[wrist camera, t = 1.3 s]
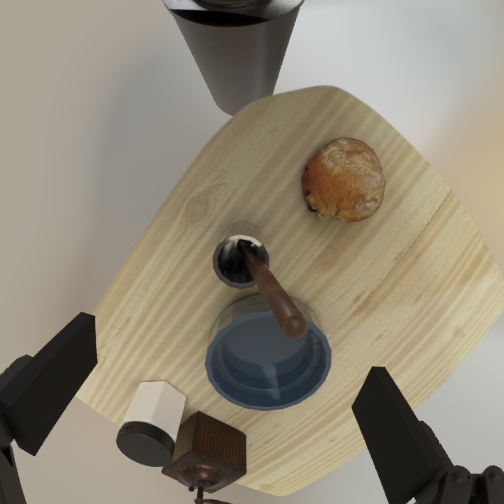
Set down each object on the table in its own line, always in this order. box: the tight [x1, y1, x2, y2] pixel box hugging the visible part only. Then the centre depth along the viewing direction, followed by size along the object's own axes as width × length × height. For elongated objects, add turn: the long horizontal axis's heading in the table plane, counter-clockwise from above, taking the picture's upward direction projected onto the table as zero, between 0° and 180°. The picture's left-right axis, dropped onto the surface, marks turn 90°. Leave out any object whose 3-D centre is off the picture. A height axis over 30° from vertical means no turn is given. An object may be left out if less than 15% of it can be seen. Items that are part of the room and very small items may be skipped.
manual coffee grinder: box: [162, 411, 247, 504], centre depth 37 cm, size 16×11×18 cm
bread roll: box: [301, 138, 386, 224], centre depth 32 cm, size 10×10×8 cm
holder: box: [213, 222, 269, 289], centre depth 33 cm, size 5×6×8 cm
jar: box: [116, 381, 187, 467], centre depth 37 cm, size 9×8×12 cm
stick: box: [237, 240, 307, 339], centre depth 27 cm, size 2×2×20 cm
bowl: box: [205, 294, 331, 411], centre depth 37 cm, size 15×15×6 cm
